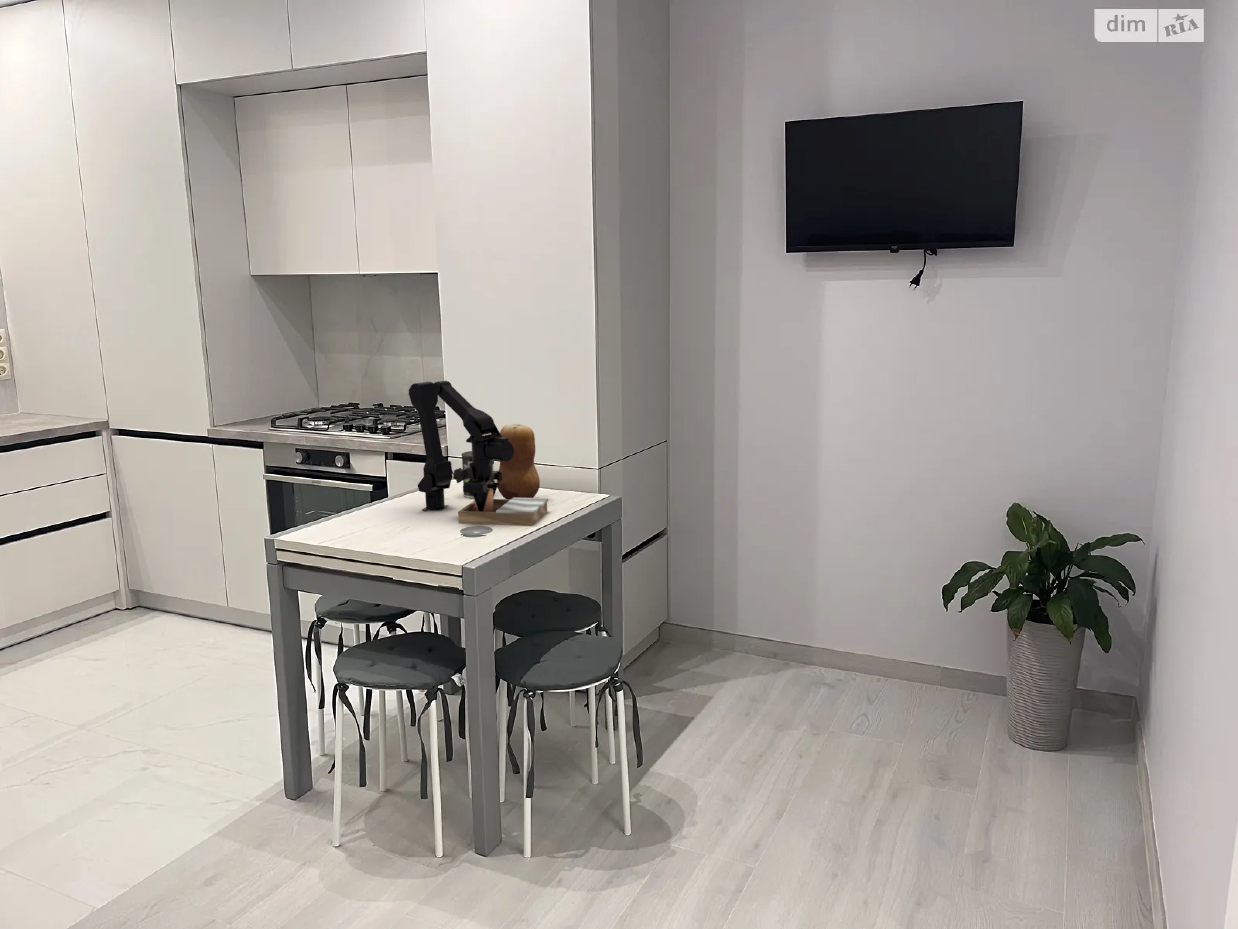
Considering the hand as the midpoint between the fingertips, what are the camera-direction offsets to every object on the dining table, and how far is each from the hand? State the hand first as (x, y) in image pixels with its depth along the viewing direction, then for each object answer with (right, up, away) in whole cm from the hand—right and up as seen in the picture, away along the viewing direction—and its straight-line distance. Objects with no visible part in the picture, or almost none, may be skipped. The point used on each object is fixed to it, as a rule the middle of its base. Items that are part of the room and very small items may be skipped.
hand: (484, 509), depth 282 cm
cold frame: (+6, -3, -1) cm, 7 cm away
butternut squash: (+8, +1, +21) cm, 23 cm away
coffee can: (-6, +3, +32) cm, 32 cm away
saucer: (0, -6, -15) cm, 16 cm away
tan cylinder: (0, -1, 0) cm, 1 cm away
